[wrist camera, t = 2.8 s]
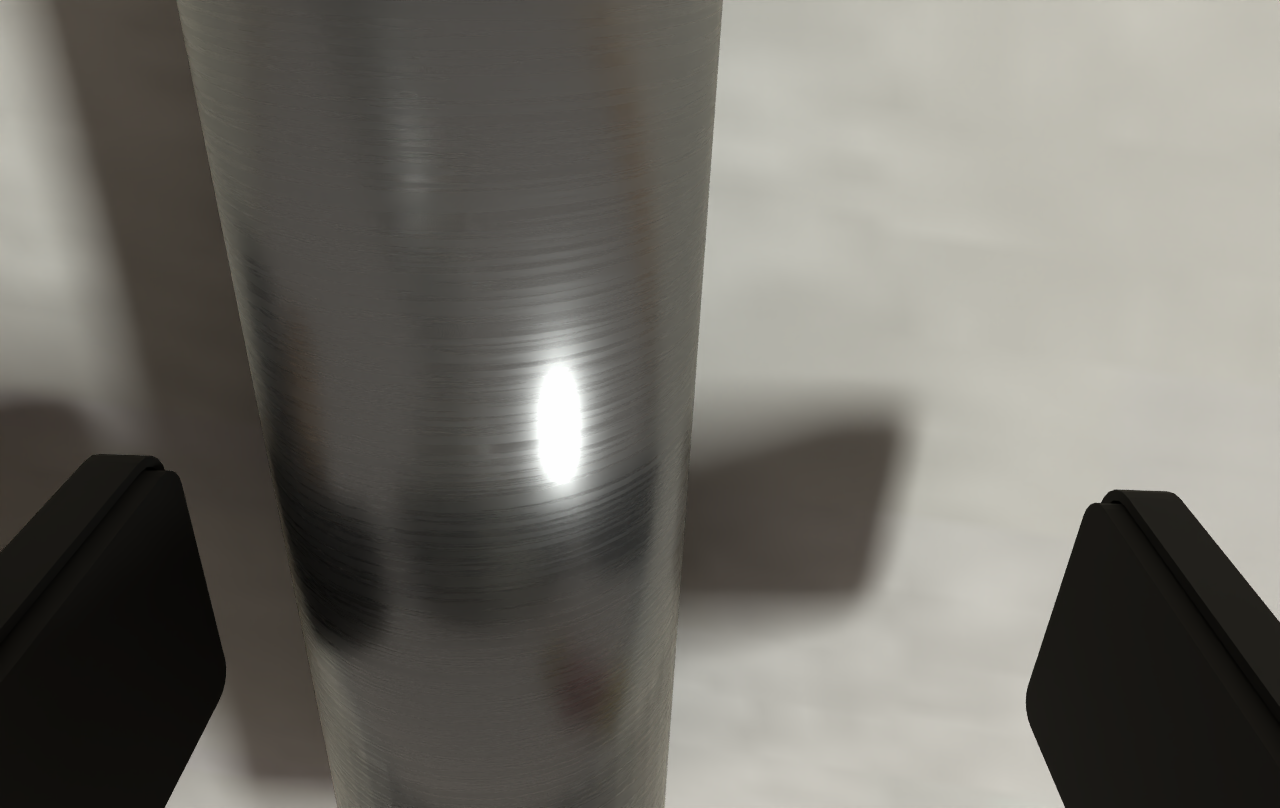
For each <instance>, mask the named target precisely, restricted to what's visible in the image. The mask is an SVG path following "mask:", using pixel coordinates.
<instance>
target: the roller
mask: <svg viewBox="0 0 1280 808" xmlns="http://www.w3.org/2000/svg"><path fill="white" fill-rule="evenodd" d="M176 2H177V7H178V12H179V17H180V22H181V27H182V32H183V37H184V42H185V47H186V52H187V57H188V62H189V67H190V72H191V77H192V82H193V87H194V92H195V97H196V102H197V107H198V112H199V117H200V122H201V127H202V132H203V137H204V142H205V147H206V152H207V157H208V162H209V167H210V172H211V177H212V182H213V187H214V192H215V197H216V202H217V207H218V212H219V217H220V222H221V227H222V232H223V237H224V242H225V247H226V252H227V257H228V262H229V267H230V272H231V277H232V282H233V287H234V292H235V297H236V302H237V307H238V312H239V317H240V322H241V327H242V332H243V337H244V342H245V347H246V352H247V357H248V362H249V367H250V372H251V377H252V382H253V387H254V392H255V397H256V402H257V407H258V412H259V417H260V422H261V427H262V432H263V437H264V442H265V447H266V452H267V457H268V462H269V467H270V472H271V477H272V482H273V487H274V492H275V497H276V502H277V507H278V512H279V517H280V522H281V527H282V532H283V537H284V542H285V547H286V552H287V557H288V562H289V567H290V572H291V577H292V582H293V587H294V592H295V597H296V602H297V607H298V612H299V617H300V622H301V627H302V632H303V637H304V642H305V647H306V652H307V657H308V662H309V667H310V672H311V677H312V682H313V687H314V692H315V697H316V702H317V707H318V712H319V717H320V722H321V727H322V732H323V737H324V742H325V747H326V752H327V757H328V762H329V767H330V772H331V777H332V782H333V787H334V792H335V797H336V802H337V807H338V808H664V806H665V792H666V778H667V765H668V751H669V737H670V723H671V709H672V695H673V682H674V668H675V654H676V640H677V626H678V613H679V599H680V585H681V571H682V557H683V544H684V530H685V516H686V502H687V488H688V474H689V461H690V447H691V433H692V419H693V405H694V392H695V378H696V364H697V350H698V336H699V323H700V309H701V295H702V281H703V267H704V253H705V240H706V226H707V212H708V198H709V184H710V171H711V157H712V143H713V129H714V115H715V102H716V88H717V74H718V60H719V46H720V32H721V19H722V5H723V0H176Z"/></svg>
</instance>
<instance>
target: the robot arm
mask: <svg viewBox="0 0 1280 808" xmlns="http://www.w3.org/2000/svg"><path fill="white" fill-rule="evenodd" d="M225 678H226V662H225V657H224V653H223V649H222V645H221V641H220V637H219V633H218V629H217V625H216V621H215V617H214V613H213V608H212V604H211V600H210V596H209V592H208V588H207V584H206V580H205V576H204V572H203V568H202V564H201V560H200V556H199V552H198V548H197V544H196V540H195V536H194V532H193V528H192V524H191V520H190V515H189V511H188V507H187V503H186V499H185V495H184V491H183V487H182V483H181V481H180V478H179V476H178V475H177V474H176V473H175V472H173V471H165V469H164V467H163V464H162V463H161V462H160V461H159V459H158V458H155V457H153V456H138V455H109V454H98V455H93V456H91V457H90V458H88V459H87V460H86V461H85V462H84V463H83V464H82V465H81V466H80V467H79V468H78V469H77V470H76V471H75V473H74V474H73V475H72V476H71V477H70V478H69V479H68V480H67V481H66V482H65V483H64V484H63V486H62V487H61V488H60V489H59V490H58V491H57V492H56V493H55V494H54V495H53V496H52V497H51V499H50V500H49V501H48V502H47V503H46V504H45V505H44V506H43V507H42V508H41V509H40V510H39V512H38V513H37V514H36V515H35V516H34V517H33V518H32V519H31V520H30V521H29V522H28V523H27V525H26V526H25V527H24V528H23V529H22V530H21V531H20V532H19V533H18V534H17V535H16V537H15V538H14V539H13V540H12V541H11V542H10V543H9V544H8V545H7V546H6V547H5V548H4V550H3V551H2V552H1V553H0V808H165V806H166V804H167V802H168V800H169V798H170V796H171V794H172V792H173V790H174V788H175V786H176V784H177V782H178V780H179V778H180V776H181V774H182V772H183V770H184V769H185V767H186V765H187V763H188V761H189V759H190V757H191V755H192V753H193V751H194V749H195V747H196V745H197V743H198V741H199V739H200V737H201V735H202V733H203V731H204V729H205V727H206V725H207V723H208V721H209V719H210V717H211V715H212V713H213V711H214V709H215V707H216V706H217V704H218V702H219V700H220V697H221V695H222V692H223V689H224V685H225ZM1026 711H1027V716H1028V720H1029V723H1030V726H1031V729H1032V731H1033V733H1034V736H1035V738H1036V740H1037V743H1038V745H1039V747H1040V750H1041V752H1042V755H1043V757H1044V759H1045V762H1046V764H1047V766H1048V769H1049V771H1050V773H1051V776H1052V778H1053V780H1054V783H1055V785H1056V787H1057V790H1058V792H1059V794H1060V797H1061V799H1062V801H1063V804H1064V806H1065V808H1280V622H1279V621H1278V620H1277V618H1276V617H1275V616H1274V615H1273V613H1272V612H1271V611H1270V610H1269V608H1268V607H1267V606H1266V605H1265V603H1264V602H1263V601H1262V600H1261V598H1260V597H1259V596H1258V595H1257V593H1256V592H1255V591H1254V590H1253V588H1252V587H1251V586H1250V585H1249V583H1248V582H1247V581H1246V580H1245V578H1244V577H1243V576H1242V575H1241V574H1240V572H1239V571H1238V570H1237V569H1236V567H1235V566H1234V565H1233V564H1232V562H1231V561H1230V560H1229V559H1228V557H1227V556H1226V555H1225V554H1224V552H1223V551H1222V550H1221V549H1220V547H1219V546H1218V545H1217V544H1216V542H1215V541H1214V540H1213V539H1212V537H1211V536H1210V535H1209V534H1208V532H1207V531H1206V530H1205V529H1204V528H1203V526H1202V525H1201V524H1200V523H1199V521H1198V520H1197V519H1196V518H1195V516H1194V515H1193V514H1192V513H1191V511H1190V510H1189V509H1188V508H1187V506H1186V505H1185V504H1184V503H1183V501H1182V500H1181V499H1180V498H1179V497H1178V496H1177V495H1175V494H1174V493H1171V492H1167V491H1140V490H1113V491H1110V492H1108V493H1107V495H1106V496H1105V497H1104V498H1103V500H1102V502H1101V503H1093V504H1091V505H1090V506H1089V507H1088V508H1087V509H1086V511H1085V514H1084V516H1083V519H1082V522H1081V525H1080V528H1079V531H1078V534H1077V537H1076V540H1075V543H1074V547H1073V550H1072V553H1071V556H1070V559H1069V562H1068V565H1067V568H1066V571H1065V574H1064V577H1063V580H1062V583H1061V586H1060V589H1059V593H1058V596H1057V599H1056V602H1055V605H1054V608H1053V611H1052V614H1051V617H1050V620H1049V623H1048V626H1047V629H1046V632H1045V635H1044V639H1043V642H1042V645H1041V648H1040V651H1039V654H1038V657H1037V660H1036V663H1035V666H1034V669H1033V672H1032V675H1031V678H1030V682H1029V685H1028V688H1027V693H1026Z"/></svg>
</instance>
